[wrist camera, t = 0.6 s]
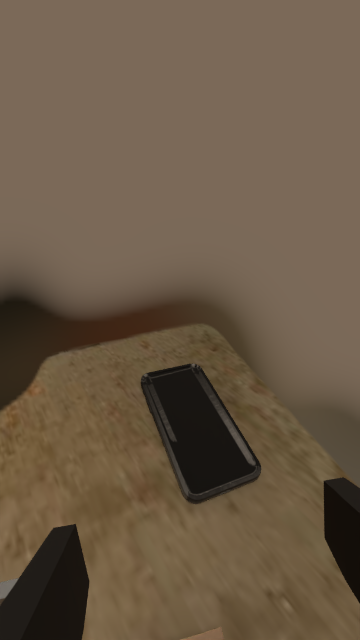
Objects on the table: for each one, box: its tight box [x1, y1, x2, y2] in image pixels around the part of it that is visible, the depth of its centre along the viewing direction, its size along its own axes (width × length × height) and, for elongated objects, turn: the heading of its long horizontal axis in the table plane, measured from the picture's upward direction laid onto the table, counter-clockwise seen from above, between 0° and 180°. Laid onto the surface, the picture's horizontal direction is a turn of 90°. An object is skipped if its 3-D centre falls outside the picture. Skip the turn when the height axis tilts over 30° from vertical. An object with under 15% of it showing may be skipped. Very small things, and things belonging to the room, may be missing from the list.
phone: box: [141, 364, 261, 504], centre depth 32 cm, size 8×1×15 cm
